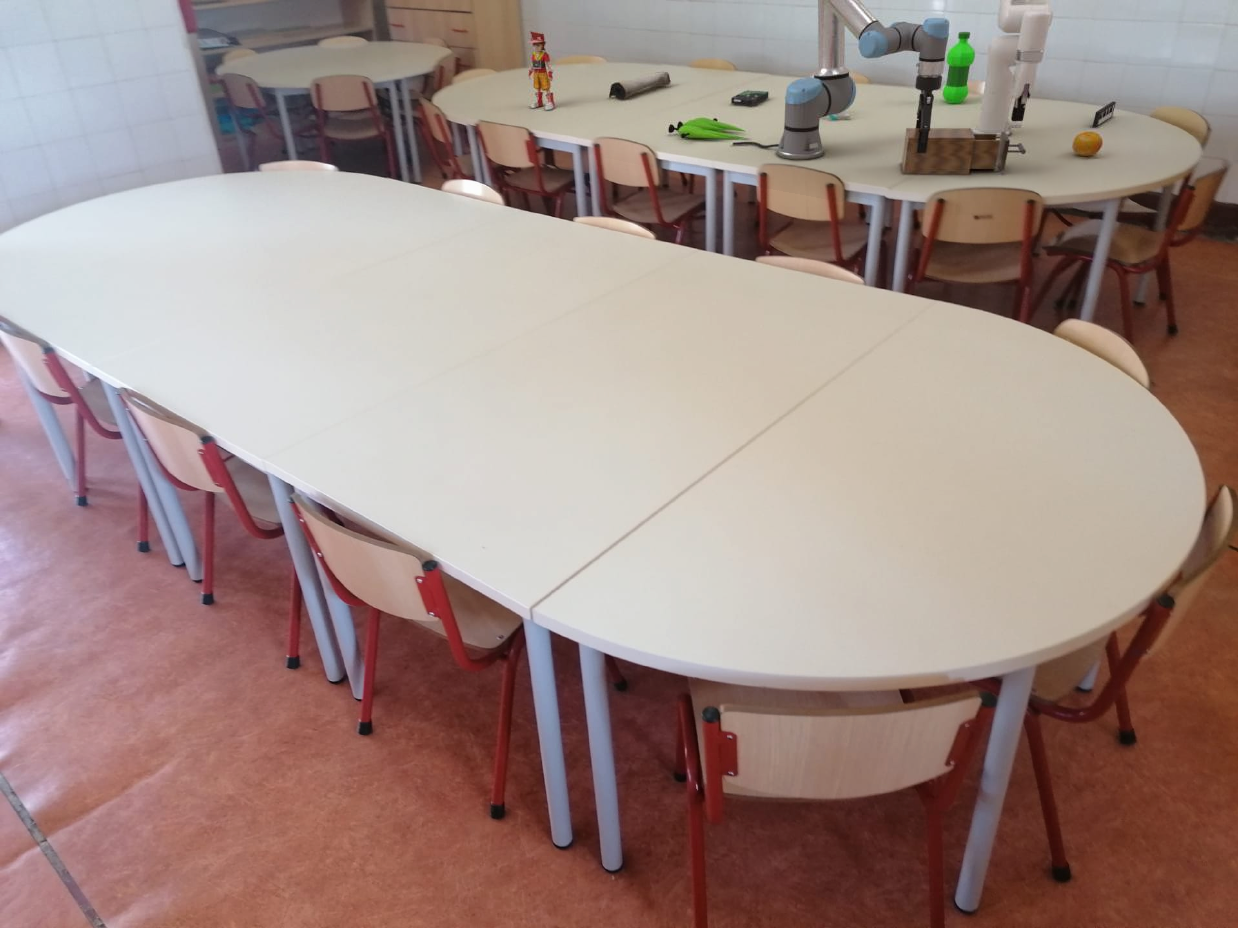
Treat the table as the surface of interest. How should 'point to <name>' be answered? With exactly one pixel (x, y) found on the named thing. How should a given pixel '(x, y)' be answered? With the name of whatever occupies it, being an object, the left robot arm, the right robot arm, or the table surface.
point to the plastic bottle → (958, 69)
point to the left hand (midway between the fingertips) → (919, 147)
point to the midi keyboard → (1104, 113)
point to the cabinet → (939, 151)
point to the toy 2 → (704, 129)
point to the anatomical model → (839, 116)
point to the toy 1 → (541, 71)
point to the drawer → (992, 151)
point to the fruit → (1087, 143)
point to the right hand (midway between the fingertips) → (1016, 120)
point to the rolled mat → (638, 84)
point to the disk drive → (749, 98)
